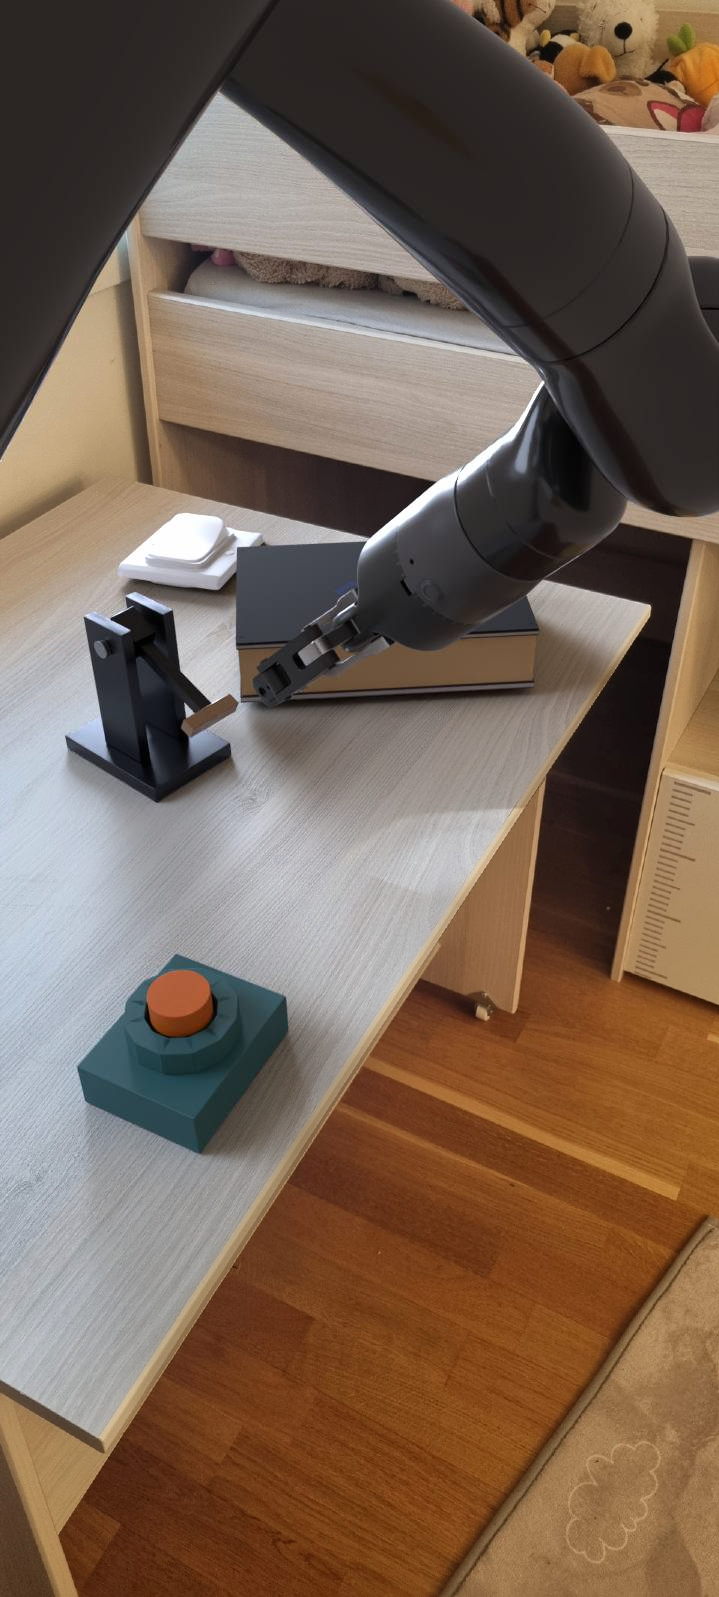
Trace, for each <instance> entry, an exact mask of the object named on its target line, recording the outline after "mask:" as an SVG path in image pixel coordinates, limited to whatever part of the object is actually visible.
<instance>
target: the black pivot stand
mask: <svg viewBox="0 0 719 1597" xmlns="http://www.w3.org/2000/svg"><path fill="white" fill-rule="evenodd" d="M124 598H125V604H126V609H128V608H130V607H134V608H135V609H136V610H137V611H138V612H139V613H140V614H141V615H142V616H143V617H144V618H145V619H146V620H147V621H148V622H149V623H150V624H151V625H152V626H153V627H154V628H155V629H156V635H155V639H154V644H155V645H156V646H157V647H158V648H159V649H160V650H161V651H162V652H163V653H164V655H165V656H166V657H167V658H168V659H169V660H170V661H171V662H172V663H173V664H174V665H175V666H176V667H177V668H178V669H179V670H180V671H181V665H180V663H181V662H180V655H179V648H178V638H177V632H176V623H175V615H174V610H173V609H172V608H170V607H168V606H167V605H165V604H162V603H159V602H157V601H155V600H153V599H152V598H149V597H147V596H145V595H143V594H141V593H138V592H137V591H133V592H131V593H129V594H127V595H125V596H124ZM83 622H84V628H85V633H86V639H87V644H88V651H89V655H90V662H91V667H92V673H93V679H94V684H95V690H96V695H97V696H96V697H97V702H98V708H99V712H100V713H99V714H100V716H98V717H96V718H94V719H92V720H90V721H89V722H87V723H85V724H83V725H82V726H80V727H78V728H76V729H74V730H72V731H70V732H69V733H67V734H65V735H64V738H65V743H66V748H67V750H70V751H71V752H73V753H75V754H76V755H78V756H79V757H81V758H83V759H84V760H86V761H88V762H89V763H91V764H92V765H94V766H95V767H97V768H99V769H101V770H102V771H104V772H106V773H107V774H109V775H111V776H112V777H113V778H116V779H117V780H119V781H121V782H122V783H124V784H125V785H126V786H129V787H130V788H132V789H134V790H135V791H137V792H138V793H140V794H142V795H143V796H145V797H147V798H148V799H150V800H151V801H153V802H155V803H158V802H160V801H162V800H163V799H164V798H166V797H168V796H170V795H172V794H173V793H174V792H176V791H178V790H179V789H181V788H183V787H184V786H186V785H187V784H189V783H190V782H192V781H194V780H195V779H197V778H198V777H200V776H202V775H203V774H205V773H206V772H208V771H209V770H211V769H213V768H214V767H216V766H218V765H219V764H221V763H223V762H224V761H226V760H227V759H229V758H230V757H232V746H231V742H229V741H228V740H226V739H224V738H222V737H220V736H218V735H217V734H216V733H214V732H211V731H209V730H207V729H205V730H203V731H202V732H200V733H198V734H197V735H195V736H193V737H192V738H190V737H189V736H188V735H187V734H186V733H185V732H184V731H183V730H182V729H181V727H182V724H183V721H184V719H186V718H187V712H186V704H185V703H184V702H183V701H182V700H181V698H180V697H179V696H178V695H177V694H176V693H175V692H174V691H173V690H172V689H171V688H170V687H169V686H168V685H167V684H166V683H165V682H164V681H163V680H162V679H161V678H160V677H159V676H158V675H157V674H156V673H155V672H154V670H153V669H152V668H151V667H150V666H149V665H148V664H147V663H146V662H145V661H144V660H143V659H142V658H141V657H138V658H136V657H135V651H134V644H133V637H132V631H131V630H129V629H127V628H125V627H123V626H121V625H119V624H117V623H115V622H113V621H111V620H110V619H109V618H107V617H105V616H103V615H101V614H99V613H97V612H95V611H92V612H90V613H87V614H85V615H84V616H83Z"/></svg>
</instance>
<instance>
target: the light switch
mask: <svg viewBox="0 0 719 1597" xmlns="http://www.w3.org/2000/svg"><path fill="white" fill-rule="evenodd" d="M264 542H265V538H264V535H263V534H262V533H259V532H253V531H244V530H237V529H234V528H231V527H227V526H226V523H225V521H224V520H223V519H221V518H219V517H217V516H212V515H202V514H194V513H189V512H184V513H178V514H176V515H175V516H174V517H172V518H171V519H170V521H168V522H166V523H165V524H163V525H162V526H161V528H159V529H158V530H156V532H154V534H152V535H151V536H150V537H148V539H146V541H144V542H143V543H142V544H141V545H140V546H139V547H137V548H136V549H135V550H134V551H133V552H132V553H131V554H130V555H129V556H128V557H126V558H125V559H124V560H123V561H121V563H120V564H119V566H118V569H117V576H118V577H120V578H127V579H134V580H140V581H141V580H143V581H147V582H148V581H149V582H150V583H153V584H156V585H157V584H158V585H163V586H172V587H177V588H178V587H180V588H185V589H187V588H197V589H206V590H212V591H218V590H220V589H221V588H222V587H223V586H224V585H225V584H226V583H227V582H228V581H229V580H230V579H231V578H232V577H233V575H234V574H235V573H236V572H237V547H251V546H262V544H263V543H264Z"/></svg>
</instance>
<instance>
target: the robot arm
mask: <svg viewBox="0 0 719 1597" xmlns="http://www.w3.org/2000/svg"><path fill="white" fill-rule="evenodd" d="M218 94H219V95H220V96H222V97H223V98H224V99H226V100H227V101H228V102H230V103H231V104H232V105H234V106H235V107H236V108H237V109H238V110H240V111H242V112H243V113H244V114H246V115H247V116H248V117H249V118H251V119H252V120H254V121H255V122H256V123H258V125H260V126H261V127H263V128H264V129H265V130H266V131H267V132H269V133H270V134H271V135H272V136H273V137H275V138H277V139H278V140H279V141H280V142H281V143H282V144H284V145H286V147H288V148H289V149H290V150H291V151H293V152H294V153H295V154H296V155H297V156H299V157H300V159H302V160H303V161H304V162H306V163H307V164H308V165H309V166H311V167H312V168H313V169H314V170H315V171H316V172H318V174H320V175H321V176H322V177H323V178H324V179H325V180H327V181H328V182H329V183H330V184H331V185H332V186H334V187H335V188H336V189H337V190H338V191H339V192H340V193H341V194H343V196H345V197H346V198H347V199H348V200H349V201H351V202H352V204H354V205H355V206H356V207H357V208H359V210H361V211H362V212H363V213H364V214H365V215H366V216H367V217H368V218H370V219H371V220H372V221H373V222H374V223H375V224H376V225H377V226H379V228H381V230H383V231H384V232H385V233H386V235H388V236H389V237H390V238H392V239H393V240H394V241H395V242H396V243H397V244H398V245H399V246H400V247H401V248H402V249H403V250H405V251H406V253H408V254H409V255H410V256H411V257H412V258H413V259H414V260H415V261H416V262H418V263H419V264H420V265H421V266H422V267H423V268H424V269H425V270H426V271H427V272H428V273H429V274H430V275H431V276H432V277H434V279H435V280H437V282H439V283H440V284H441V286H443V287H444V288H445V289H446V290H447V291H448V292H449V293H451V294H452V296H454V297H455V298H456V299H457V300H458V301H459V302H460V303H461V304H462V305H463V306H464V307H465V308H466V309H468V310H469V312H470V313H472V314H473V315H474V316H475V317H476V318H477V319H478V320H480V322H482V323H483V324H484V325H485V326H486V327H487V328H488V329H489V330H490V331H491V332H492V333H493V334H495V335H496V336H497V337H498V338H499V339H500V340H501V341H502V342H503V343H505V344H506V346H508V347H509V348H510V349H511V350H512V351H513V352H514V353H515V354H517V355H518V356H519V357H521V359H523V360H524V361H525V362H527V363H528V364H529V365H530V366H531V367H532V368H533V369H534V370H535V371H536V373H537V374H538V376H539V377H540V379H541V381H542V382H541V383H540V384H539V386H538V387H537V389H536V390H535V392H534V394H533V396H532V397H531V399H530V400H529V403H528V404H527V406H526V407H525V409H524V411H523V412H522V414H521V416H520V417H519V419H518V420H517V421H516V422H515V423H514V424H513V425H511V426H510V427H509V428H508V429H506V430H505V431H504V432H503V433H501V434H500V436H498V437H497V438H496V439H495V440H493V441H492V442H491V443H490V444H489V445H487V446H486V447H485V448H484V449H483V450H481V451H480V452H479V453H478V454H476V455H475V456H474V457H473V458H472V459H470V460H469V461H468V462H466V463H465V464H463V465H462V466H461V467H458V468H457V469H455V470H454V471H452V472H450V473H448V474H446V475H445V476H444V477H442V478H440V479H439V480H438V481H436V482H435V483H434V484H433V485H432V486H430V487H429V488H428V489H427V490H425V491H424V492H423V493H422V494H421V495H420V496H418V497H417V498H416V499H415V500H413V501H412V502H411V503H410V504H409V505H408V506H406V508H404V509H403V510H402V511H401V512H399V514H397V515H395V517H393V519H391V520H390V521H388V523H386V524H385V525H384V526H383V527H381V528H380V529H379V530H378V531H377V532H375V533H374V534H373V535H372V536H371V537H370V538H368V540H367V541H368V542H367V543H366V544H365V546H364V548H363V549H362V552H361V554H360V557H359V561H358V566H357V583H358V586H357V587H355V588H354V589H352V590H351V591H349V592H348V593H346V594H345V595H343V596H342V597H340V598H339V599H338V601H337V604H336V606H335V607H333V608H332V609H330V610H329V611H327V612H326V613H324V614H323V615H321V616H320V617H319V618H317V619H316V620H314V621H313V622H311V623H310V624H308V625H307V626H305V627H304V628H303V629H302V631H301V633H300V634H299V635H297V636H296V637H295V638H294V639H292V640H291V641H290V642H288V643H287V644H286V645H285V646H283V647H282V648H281V649H279V650H278V651H277V652H276V653H274V654H273V655H272V656H270V657H269V658H268V659H267V658H265V659H264V660H262V661H261V662H260V665H259V666H257V667H256V669H257V670H258V672H259V674H258V675H257V676H256V677H254V678H253V687H254V689H255V690H256V692H257V694H258V695H259V697H260V698H261V700H262V701H263V702H262V703H263V705H265V706H267V708H270V709H274V708H275V707H277V706H279V705H280V704H282V703H283V702H287V701H290V700H289V699H290V698H292V696H291V695H293V694H294V693H297V692H299V691H300V692H303V691H305V690H306V689H308V687H307V686H308V685H309V684H311V683H312V682H314V681H316V680H317V679H319V678H320V677H322V676H323V675H325V676H327V677H330V678H334V677H336V676H338V675H340V674H342V673H343V672H345V671H346V670H348V669H349V668H351V667H352V666H354V665H355V664H357V663H358V662H360V661H361V660H363V659H365V658H366V657H368V656H376V655H378V654H380V653H381V652H383V651H385V650H386V649H388V648H389V647H391V646H392V645H394V644H395V643H399V644H401V645H403V646H405V647H408V648H411V649H414V650H419V651H435V650H439V649H443V648H445V647H447V646H449V645H451V644H452V643H454V642H456V641H457V640H459V639H460V638H462V637H463V636H465V635H466V634H468V633H470V632H471V631H473V630H474V629H476V628H477V627H479V626H480V625H482V624H483V623H485V622H487V621H488V620H490V619H491V618H493V617H494V616H496V615H498V614H499V613H501V612H502V611H504V610H505V609H507V608H508V607H510V606H511V605H513V604H515V603H516V602H518V601H519V600H521V599H522V598H523V597H525V596H526V595H528V594H529V593H531V592H532V591H533V590H534V589H535V588H537V586H538V585H539V584H540V583H542V582H543V581H544V580H546V579H547V578H548V577H549V576H551V575H553V574H554V573H555V572H557V571H559V570H560V569H562V568H563V567H565V566H567V565H568V564H569V563H571V562H573V561H574V560H576V559H577V558H579V557H580V556H582V555H583V554H584V553H586V552H588V551H589V550H591V549H592V548H594V547H595V546H596V545H598V544H600V543H601V542H602V541H603V540H605V539H606V538H607V537H608V536H610V535H611V534H612V533H613V532H614V531H615V529H616V528H617V527H618V526H619V524H620V523H621V521H622V519H623V518H624V515H625V513H626V510H627V507H628V502H631V503H633V504H634V505H636V506H638V507H640V508H642V509H645V510H648V511H650V512H653V513H657V514H660V515H663V516H669V517H675V518H698V517H699V518H700V517H706V516H710V515H714V514H717V513H719V257H715V256H709V255H687V251H686V249H685V246H684V243H683V241H682V238H681V237H680V235H679V232H678V230H677V228H676V226H675V225H674V223H673V222H674V221H672V219H671V217H670V216H669V214H668V213H667V211H666V210H665V209H664V208H663V206H662V205H661V203H660V202H659V201H658V199H657V198H656V197H655V195H654V194H653V192H652V191H651V190H650V189H649V187H648V186H647V185H646V183H645V182H644V181H643V180H642V178H641V177H640V176H639V175H638V173H637V172H636V170H635V169H634V168H633V166H632V165H631V164H630V163H629V161H628V159H626V157H625V156H624V155H623V153H622V152H621V150H620V149H619V148H618V146H617V145H616V144H615V142H614V141H613V140H612V138H610V136H609V135H608V134H607V133H606V131H605V130H604V129H603V127H601V125H600V124H599V123H598V122H597V121H596V120H595V119H594V118H593V117H592V115H590V114H589V113H588V111H587V110H585V108H584V107H583V106H582V105H581V104H579V102H577V100H576V99H575V98H573V97H572V96H571V95H570V94H569V93H568V92H567V91H565V90H564V89H563V88H562V87H561V86H560V85H559V84H557V82H555V80H554V79H552V78H551V77H550V76H549V75H548V74H546V73H545V72H544V71H543V70H542V69H541V68H540V67H538V66H537V65H536V64H535V63H534V62H532V61H531V60H530V59H529V58H527V57H526V56H525V55H523V53H521V52H520V51H519V50H518V49H516V48H515V47H514V46H512V45H511V44H509V43H508V42H507V41H506V40H504V39H503V38H501V37H500V36H499V35H498V34H497V33H495V32H494V31H492V30H491V29H490V28H488V27H487V26H486V25H484V24H483V23H482V22H480V21H479V20H478V19H476V18H475V17H474V16H473V15H471V14H470V13H469V12H467V11H466V10H464V9H463V8H462V7H460V6H459V5H458V4H457V3H455V2H454V1H453V0H0V463H2V461H3V458H4V457H5V455H6V453H7V451H8V449H9V447H10V446H11V444H12V442H13V441H14V438H15V437H16V435H17V433H18V431H19V429H20V427H21V426H22V424H23V422H24V420H25V418H26V416H27V414H28V412H29V411H30V409H31V407H32V405H33V403H34V401H35V400H36V397H37V396H38V394H39V392H40V391H41V388H42V386H43V385H44V383H45V380H46V379H47V377H48V375H49V374H50V372H51V369H52V368H53V365H54V363H55V361H56V359H57V357H58V355H59V354H60V351H61V349H62V347H63V345H64V343H65V341H66V340H67V337H68V336H69V333H70V332H71V329H72V327H73V325H74V323H75V321H76V320H77V317H78V316H79V314H80V312H81V310H82V308H83V306H84V304H85V302H86V301H87V299H88V297H89V295H90V293H91V291H92V290H93V287H94V286H95V283H96V282H97V280H98V278H99V276H100V275H101V273H102V271H103V270H104V269H105V266H106V265H107V263H108V261H109V259H110V258H111V256H112V255H113V253H114V251H115V250H116V248H117V247H118V245H119V243H120V242H121V240H122V238H123V236H124V235H125V234H126V232H127V230H128V229H129V227H130V225H131V224H132V222H133V221H134V220H135V217H136V216H137V215H138V213H139V211H140V210H141V208H142V207H143V205H144V204H145V202H146V200H147V199H148V197H149V196H150V194H151V193H152V192H153V190H154V188H155V187H156V185H157V184H158V182H159V181H160V179H161V178H162V176H163V175H164V174H165V172H166V170H167V169H168V167H169V166H170V164H171V163H172V161H173V160H174V159H175V157H176V155H177V154H178V152H179V151H180V150H181V148H182V146H183V145H184V144H185V141H187V139H188V138H189V136H190V135H191V133H192V132H193V130H194V129H195V127H196V126H197V125H198V123H199V121H200V120H201V118H202V117H203V115H204V114H205V112H206V111H207V110H208V108H209V107H210V105H211V104H212V102H213V100H214V99H215V97H216V96H217V95H218ZM332 620H333V623H332V630H331V631H330V632H328V633H326V634H324V633H323V631H322V628H323V627H324V626H325V625H326V624H328V623H329V622H331V621H332ZM323 634H324V635H323ZM339 646H341V647H342V649H343V650H344V651H346V652H348V653H354V652H357V651H358V652H357V653H355V654H354V655H352V656H351V657H349V658H348V659H346V660H345V661H340V658H339V657H338V655H337V653H336V652H335V650H334V649H336V648H337V647H339Z"/></svg>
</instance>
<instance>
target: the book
mask: <svg viewBox="0 0 719 1597" xmlns="http://www.w3.org/2000/svg"><path fill="white" fill-rule="evenodd" d="M367 542H368V540H364V541H344V542H343V541H342V542H321V543H319V542H318V543H300V544H299V543H298V544H296V543H295V544H277V545H276V544H275V545H260V546H251V547H237V571H236V572H235V573H236V576H235V577H236V579H235V580H236V582H235V586H236V588H235V590H236V591H235V650H236V651H237V655H238V656H237V657H238V668H239V679H240V681H239V683H240V686H239V690H240V691H239V692H240V693H239V695H240V696H239V697H240V703H241V704H247V703H263V701H262V700H261V698H260V697H259V695H258V694H257V692H256V690H255V689H254V687H253V678H254V677H256V676H257V675H258V674H259V672H258V670H257V669H256V667H257V666H259V665H260V662H261V661H262V660H264V659H265V658H267V659H268V658H269V657H270V656H272V655H273V654H274V653H276V652H277V651H278V650H279V649H281V648H282V647H283V646H285V645H286V644H287V643H288V642H290V641H291V640H292V639H294V638H295V637H296V636H297V635H299V634H300V633H301V631H302V629H303V628H304V627H305V626H307V625H308V624H310V623H311V622H313V621H314V620H316V619H317V618H319V617H320V616H321V615H323V614H324V613H326V612H327V611H329V610H330V609H332V608H333V607H335V606H336V604H337V601H338V599H339V598H340V597H342V596H343V595H345V594H346V593H348V592H349V591H351V590H352V589H354V588H355V587H357V586H358V583H357V566H358V561H359V557H360V554H361V552H362V549H363V548H364V546H365V544H366V543H367ZM527 595H528V594H527ZM527 595H526V596H525V597H523V598H522V599H521V600H519V601H518V602H516V603H515V604H513V605H511V606H510V607H508V608H507V609H505V610H504V611H502V612H501V613H499V614H498V615H496V616H494V617H493V618H491V619H490V620H488V621H487V622H485V623H483V624H482V625H480V626H479V627H477V628H476V629H474V630H473V631H471V632H470V633H468V634H466V635H465V636H463V637H462V638H460V639H459V640H457V641H456V642H454V643H452V644H451V645H449V646H447V647H445V648H443V649H439V650H435V651H419V650H414V649H411V648H408V647H405V646H403V645H401V644H399V643H395V644H394V645H392V646H391V647H389V648H388V649H386V650H385V651H383V652H381V653H380V654H378V655H376V656H368V657H366V658H365V659H363V660H361V661H360V662H358V663H357V664H355V665H354V666H352V667H351V668H349V669H348V670H346V671H345V672H343V673H342V674H340V675H338V676H336V677H334V678H330V677H327V676H325V675H323V676H322V677H320V678H319V679H317V680H316V681H314V682H312V683H311V684H309V685H308V686H307V687H308V689H306V690H305V691H303V692H300V691H299V692H297V693H294V694H293V695H291V696H292V698H290V699H289V700H288V701H301V700H302V701H303V700H320V699H321V700H322V699H324V700H325V699H341V698H342V699H343V698H361V697H382V696H398V695H400V696H401V695H421V694H435V693H437V694H438V693H456V692H457V693H458V692H477V691H478V692H479V691H496V690H516V689H517V690H518V689H533V688H535V683H536V682H535V680H534V668H535V657H536V648H537V638H538V636H540V633H539V632H540V626H539V624H538V621H537V619H536V616H535V614H534V611H533V609H532V606H531V604H530V601H529V598H528V596H527ZM332 623H333V620H332V621H331V622H329V623H328V624H326V625H325V626H324V627H323V628H322V631H323V633H324V634H326V633H328V632H330V631H331V630H332ZM324 634H323V635H324ZM334 650H335V652H336V653H337V655H338V657H339V658H340V661H345V660H346V659H348V658H349V657H351V656H352V655H354V654H355V653H357V652H358V651H357V652H354V653H348V652H346V651H344V650H343V649H342V647H341V646H339V647H337V648H336V649H334Z"/></svg>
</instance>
